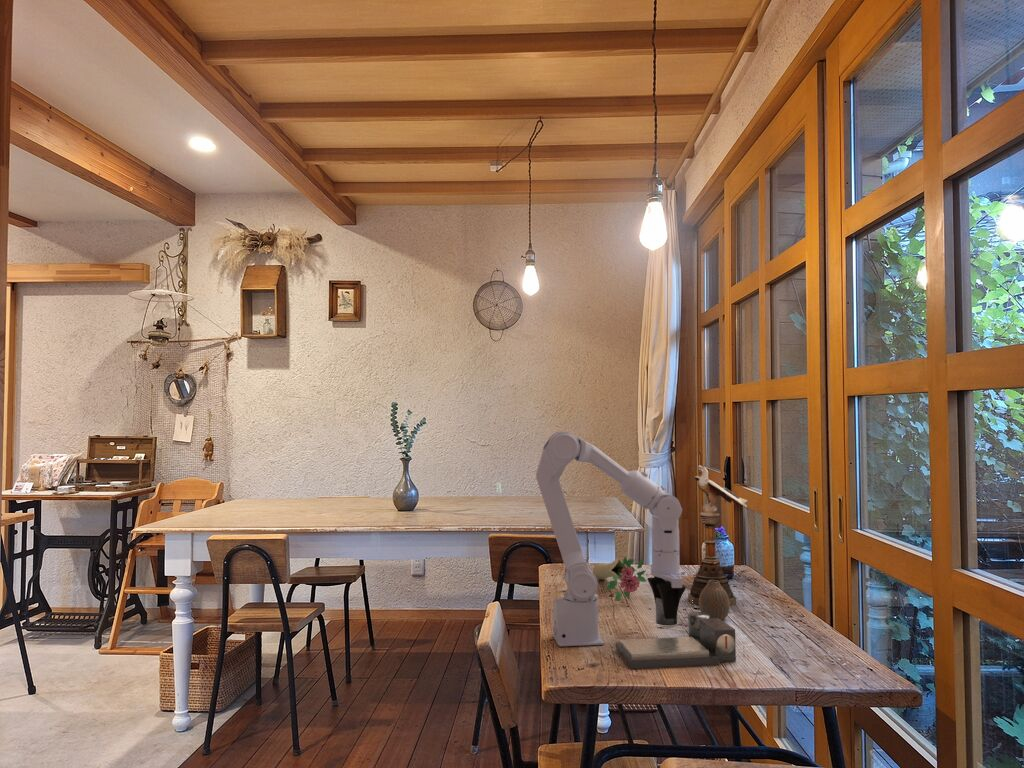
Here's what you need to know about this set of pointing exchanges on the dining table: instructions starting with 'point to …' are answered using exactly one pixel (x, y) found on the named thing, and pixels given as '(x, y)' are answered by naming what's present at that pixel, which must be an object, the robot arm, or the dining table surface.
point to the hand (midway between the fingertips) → (666, 615)
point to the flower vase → (620, 575)
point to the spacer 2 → (696, 623)
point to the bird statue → (711, 538)
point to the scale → (682, 648)
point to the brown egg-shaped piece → (714, 600)
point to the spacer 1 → (660, 614)
